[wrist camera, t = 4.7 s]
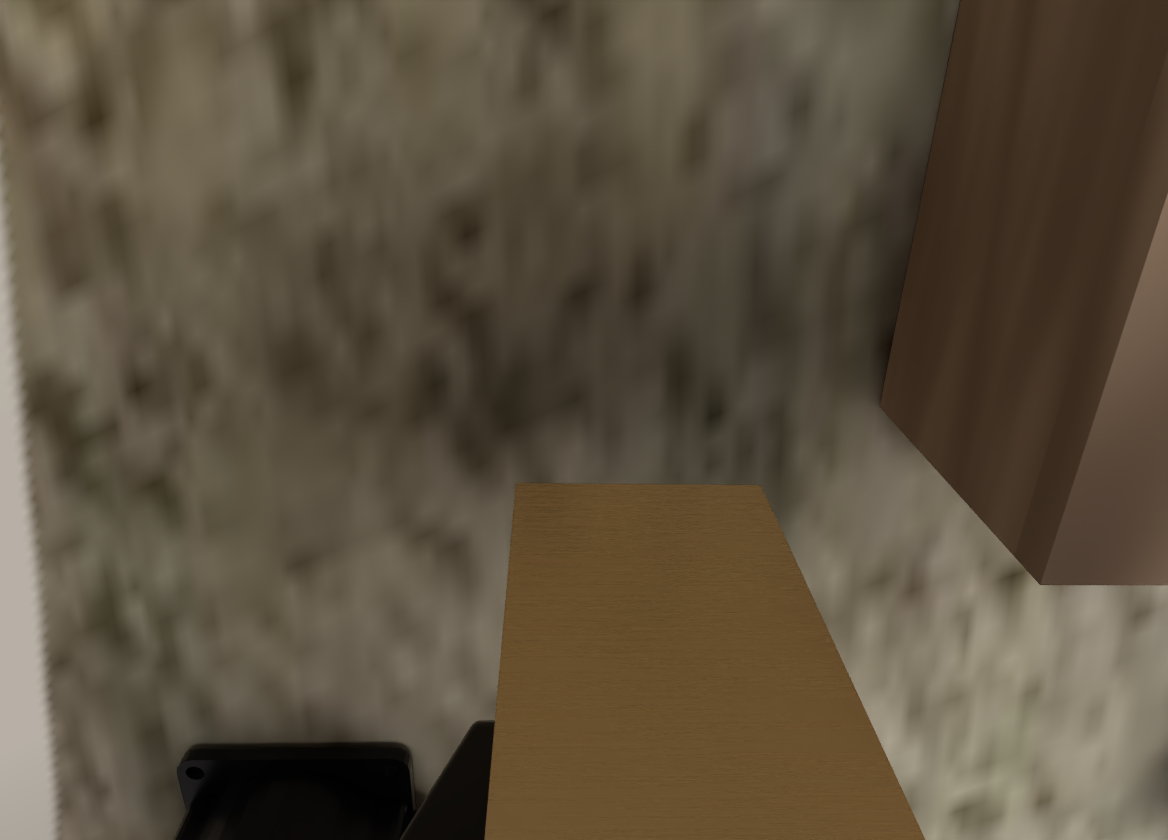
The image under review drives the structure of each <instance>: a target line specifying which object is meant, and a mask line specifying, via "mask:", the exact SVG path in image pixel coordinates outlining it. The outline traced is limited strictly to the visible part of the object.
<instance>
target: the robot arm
mask: <svg viewBox="0 0 1168 840" xmlns="http://www.w3.org/2000/svg"><path fill="white" fill-rule="evenodd" d="M494 726H495V720H489V721H477V722H475V723H474V724H473V725H472V726H471V727H470V729H469V730H468V732H467V733H466V735H465V737H464V738H463V740H462V741H461V743H460V744H459V746H458V748H457V749H456V751H455V752H454V754H453V756H452V757H451V759H450V760H449V762H448V764H447V765H446V767H445V768H444V770H443V771H442V773H441V775H440V776H439V778H438V779H437V781H436V783H435V784H434V786H433V787H432V789H431V791H430V792H429V794H428V795H427V797H426V798H425V800H424V802H423V803H422V805H421V806H420V808H419V810H416V801H415V789H414V778H413V766H412V759H411V756H410V755H409V754H408V753H407V752H406V751H405V750H402V749H400V748H261V749H194V750H190V751H188V752H186V753H185V755H184V756H183V758H182V760H181V762H180V764H179V766H178V767H177V776H178V780H179V784H180V787H181V791H182V795H183V799H184V803H185V807H186V811H187V812H186V814H185V816H184V818H183V820H182V822H181V825H180V827H179V829H178V831H177V833H176V835H175V837H174V839H173V840H485V828H486V817H487V806H488V794H489V783H490V772H491V760H492V749H493V738H494ZM390 765H394V766H397V767H394V766H390ZM197 767H198V768H197Z"/></svg>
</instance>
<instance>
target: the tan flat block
mask: <svg viewBox="0 0 1168 840" xmlns="http://www.w3.org/2000/svg"><path fill="white" fill-rule="evenodd" d="M485 840H925V838H924V836H923V834H922V832H921V830H920V827H919V825H918V823H917V821H916V819H915V817H914V814H913V812H912V810H911V808H910V806H909V804H908V802H907V799H906V797H905V795H904V793H903V791H902V789H901V786H900V784H899V782H898V780H897V778H896V776H895V774H894V771H893V769H892V767H891V765H890V763H889V761H888V758H887V756H886V754H885V752H884V750H883V748H882V746H881V743H880V741H879V739H878V737H877V735H876V733H875V730H874V728H873V726H872V724H871V722H870V720H869V718H868V715H867V713H866V711H865V709H864V707H863V705H862V702H861V700H860V698H859V696H858V694H857V692H856V690H855V687H854V685H853V683H852V681H851V679H850V677H849V674H848V672H847V670H846V668H845V666H844V664H843V662H842V659H841V657H840V655H839V653H838V651H837V649H836V646H835V644H834V642H833V640H832V638H831V636H830V634H829V631H828V629H827V627H826V625H825V623H824V621H823V618H822V616H821V614H820V612H819V610H818V608H817V606H816V603H815V601H814V599H813V597H812V595H811V593H810V590H809V588H808V586H807V584H806V582H805V580H804V578H803V575H802V573H801V571H800V569H799V567H798V565H797V562H796V560H795V558H794V556H793V554H792V552H791V550H790V547H789V545H788V543H787V541H786V539H785V537H784V534H783V532H782V530H781V528H780V526H779V524H778V522H777V519H776V517H775V515H774V513H773V511H772V509H771V506H770V504H769V502H768V500H767V498H766V496H765V494H764V491H763V489H762V487H761V485H666V484H545V483H516V488H515V500H514V511H513V522H512V534H511V545H510V556H509V568H508V579H507V590H506V602H505V613H504V624H503V636H502V647H501V658H500V670H499V681H498V692H497V704H496V715H495V726H494V738H493V749H492V760H491V772H490V783H489V794H488V806H487V817H486V828H485Z"/></svg>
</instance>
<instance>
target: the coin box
mask: <svg viewBox="0 0 1168 840" xmlns="http://www.w3.org/2000/svg"><path fill="white" fill-rule="evenodd" d="M880 408H881V409H882V410H883V411H884V412H885V413H886V414H887V415H888V417H889V418H890V419H891V420H892V421H893V422H894V423H895V424H896V425H897V427H898V428H899V429H900V430H901V431H902V432H903V433H904V434H905V435H906V437H907V438H908V439H909V440H910V441H911V442H912V443H913V444H914V445H915V447H916V448H917V449H918V450H919V451H920V452H921V453H922V454H923V455H924V457H925V458H926V459H927V460H928V461H929V462H930V463H931V464H932V465H933V467H934V468H935V469H936V470H937V471H938V472H939V473H940V474H941V475H942V477H943V478H944V479H945V480H946V481H947V482H948V483H949V484H950V485H951V487H952V488H953V489H954V490H955V491H956V492H957V493H958V494H959V495H960V497H961V498H962V499H963V500H964V501H965V502H966V503H967V504H968V505H969V507H970V508H971V509H972V510H973V511H974V512H975V513H976V514H977V515H978V516H979V518H980V519H981V520H982V521H983V522H984V523H985V524H986V525H987V526H988V528H989V529H990V530H991V531H992V532H993V533H994V534H995V535H996V536H997V538H998V539H999V540H1000V541H1001V542H1002V543H1003V544H1004V545H1005V546H1006V548H1007V549H1008V550H1009V551H1010V552H1011V553H1012V554H1013V555H1014V556H1015V558H1016V559H1017V560H1018V561H1019V562H1020V563H1021V564H1022V565H1023V566H1024V568H1025V569H1026V570H1027V571H1028V572H1029V573H1030V574H1031V575H1032V576H1033V578H1034V579H1035V580H1036V581H1037V582H1038V583H1039V584H1040V585H1168V0H961V2H960V7H959V12H958V17H957V22H956V27H955V32H954V37H953V42H952V47H951V52H950V57H949V62H948V67H947V72H946V77H945V82H944V87H943V92H942V97H941V102H940V107H939V112H938V117H937V122H936V127H935V132H934V137H933V142H932V147H931V152H930V157H929V162H928V167H927V172H926V177H925V182H924V187H923V192H922V197H921V202H920V207H919V212H918V217H917V222H916V227H915V232H914V237H913V242H912V247H911V252H910V257H909V262H908V267H907V272H906V277H905V282H904V287H903V292H902V297H901V302H900V307H899V312H898V317H897V322H896V327H895V332H894V337H893V342H892V347H891V352H890V357H889V362H888V367H887V372H886V377H885V382H884V387H883V392H882V397H881V402H880Z"/></svg>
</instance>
